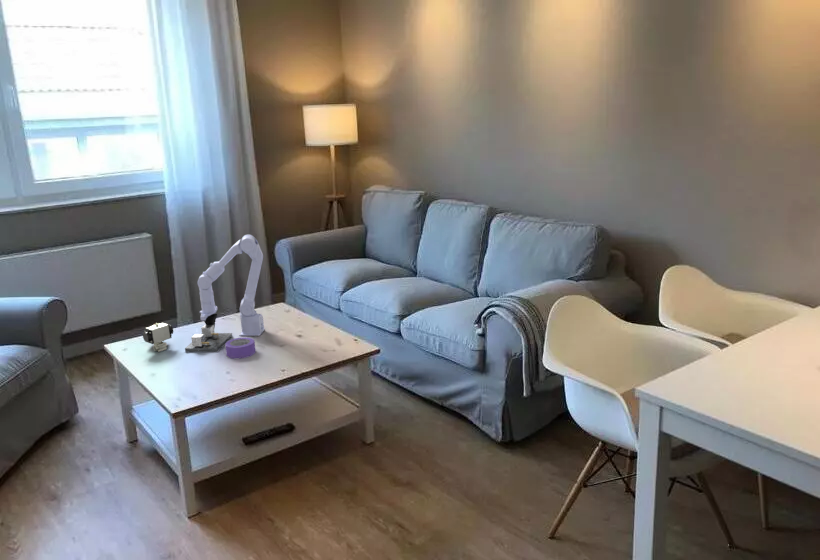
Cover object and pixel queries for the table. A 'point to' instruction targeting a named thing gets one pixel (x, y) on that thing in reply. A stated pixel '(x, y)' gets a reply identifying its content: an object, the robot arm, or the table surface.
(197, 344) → the bolt plate
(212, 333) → the sliding block
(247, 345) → the tape roll
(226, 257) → the robot arm
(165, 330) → the pneumatic valve
